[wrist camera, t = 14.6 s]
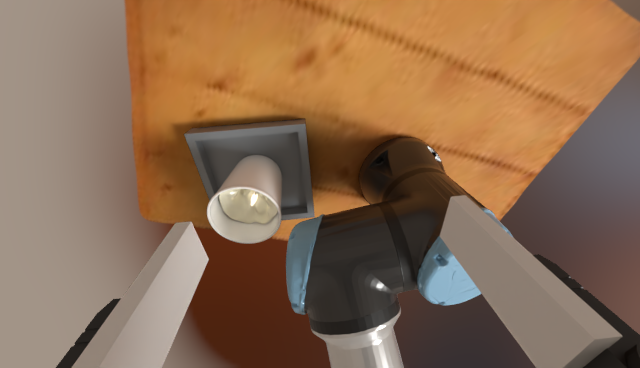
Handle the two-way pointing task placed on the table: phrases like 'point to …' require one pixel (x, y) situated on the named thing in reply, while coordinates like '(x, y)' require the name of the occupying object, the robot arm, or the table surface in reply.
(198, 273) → the robot arm
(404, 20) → the table surface
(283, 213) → the tray
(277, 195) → the candle holder
